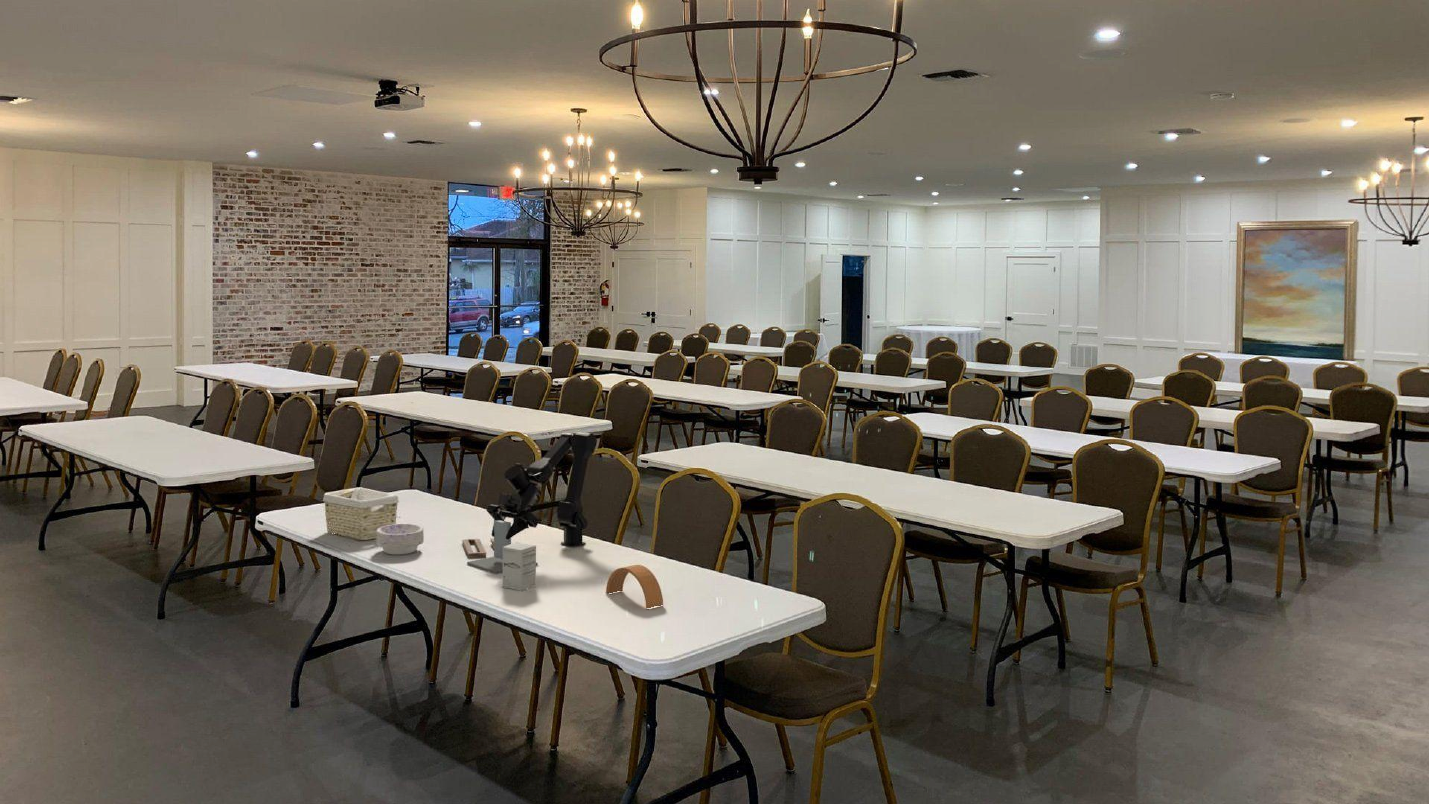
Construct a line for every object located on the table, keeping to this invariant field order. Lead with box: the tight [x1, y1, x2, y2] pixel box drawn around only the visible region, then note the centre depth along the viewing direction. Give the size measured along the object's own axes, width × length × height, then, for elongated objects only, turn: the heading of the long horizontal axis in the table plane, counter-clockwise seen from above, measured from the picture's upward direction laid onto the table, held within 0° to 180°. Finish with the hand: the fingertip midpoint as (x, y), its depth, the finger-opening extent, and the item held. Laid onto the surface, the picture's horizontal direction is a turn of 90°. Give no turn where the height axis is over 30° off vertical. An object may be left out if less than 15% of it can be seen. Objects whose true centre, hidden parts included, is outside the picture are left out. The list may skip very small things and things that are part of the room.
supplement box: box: [501, 542, 537, 592], centre depth 324 cm, size 7×7×13 cm
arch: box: [605, 564, 664, 609], centre depth 313 cm, size 6×20×10 cm, turn 41°
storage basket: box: [322, 486, 400, 541], centre depth 387 cm, size 24×16×15 cm
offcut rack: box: [461, 537, 494, 559], centre depth 368 cm, size 14×20×3 cm
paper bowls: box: [376, 523, 425, 556], centre depth 363 cm, size 15×15×8 cm
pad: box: [466, 556, 539, 575], centre depth 349 cm, size 16×16×1 cm
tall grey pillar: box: [493, 520, 512, 559], centre depth 348 cm, size 2×6×12 cm, turn 57°
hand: (499, 537), depth 347 cm, fingers closed on tall grey pillar, 6 cm apart
